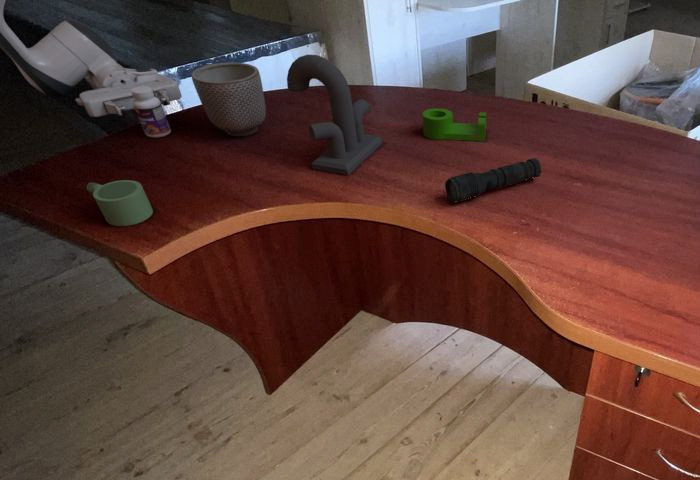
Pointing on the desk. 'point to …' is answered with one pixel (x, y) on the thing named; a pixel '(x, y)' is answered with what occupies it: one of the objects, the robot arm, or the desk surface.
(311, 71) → the faucet
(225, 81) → the planter
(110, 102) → the robot arm
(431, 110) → the tape dispenser
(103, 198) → the scoop
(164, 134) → the pill bottle
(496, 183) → the flashlight
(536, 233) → the desk surface
